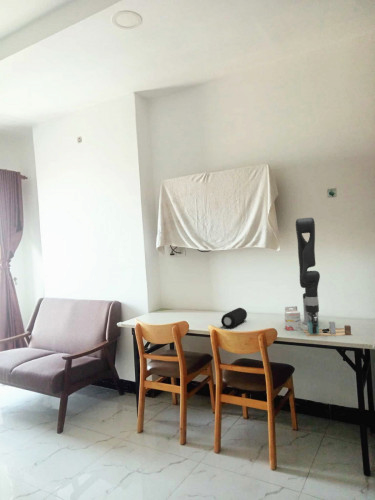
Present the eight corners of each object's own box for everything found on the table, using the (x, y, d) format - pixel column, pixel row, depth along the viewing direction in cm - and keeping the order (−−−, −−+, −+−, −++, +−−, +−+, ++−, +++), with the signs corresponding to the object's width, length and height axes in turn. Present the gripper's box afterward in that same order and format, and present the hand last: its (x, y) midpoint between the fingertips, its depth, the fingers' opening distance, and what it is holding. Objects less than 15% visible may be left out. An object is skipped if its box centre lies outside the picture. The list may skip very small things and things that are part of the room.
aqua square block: (308, 331, 217) (307, 321, 217) (316, 331, 216) (316, 320, 216) (310, 334, 212) (309, 323, 211) (319, 333, 211) (318, 322, 211)
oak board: (302, 330, 222) (302, 329, 222) (343, 329, 220) (343, 328, 220) (308, 337, 206) (308, 336, 206) (352, 336, 204) (352, 335, 204)
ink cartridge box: (287, 331, 222) (286, 308, 222) (285, 329, 227) (284, 306, 227) (301, 330, 222) (300, 307, 222) (298, 328, 227) (297, 305, 227)
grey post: (329, 333, 210) (329, 321, 210) (334, 333, 210) (333, 321, 210) (331, 334, 208) (330, 322, 208) (335, 334, 208) (335, 322, 207)
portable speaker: (236, 320, 262) (235, 306, 262) (248, 321, 257) (247, 307, 257) (220, 328, 241) (219, 313, 241) (233, 329, 236) (232, 314, 235)
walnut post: (344, 333, 208) (344, 325, 208) (349, 333, 207) (349, 325, 207) (346, 335, 205) (346, 326, 205) (351, 334, 205) (350, 326, 205)
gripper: (302, 302, 221) (304, 329, 221) (308, 306, 207) (310, 335, 207) (315, 301, 220) (316, 328, 221) (321, 305, 206) (323, 334, 206)
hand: (313, 331), depth 214 cm, fingers closed on aqua square block, 5 cm apart
